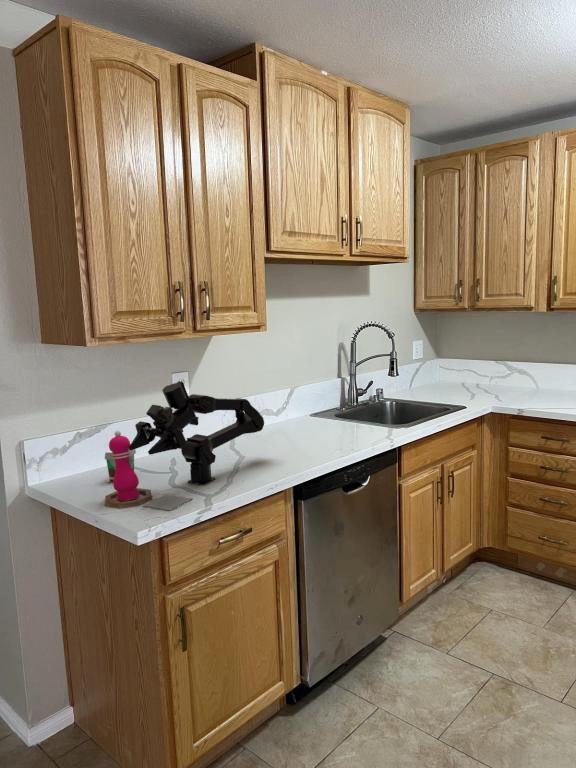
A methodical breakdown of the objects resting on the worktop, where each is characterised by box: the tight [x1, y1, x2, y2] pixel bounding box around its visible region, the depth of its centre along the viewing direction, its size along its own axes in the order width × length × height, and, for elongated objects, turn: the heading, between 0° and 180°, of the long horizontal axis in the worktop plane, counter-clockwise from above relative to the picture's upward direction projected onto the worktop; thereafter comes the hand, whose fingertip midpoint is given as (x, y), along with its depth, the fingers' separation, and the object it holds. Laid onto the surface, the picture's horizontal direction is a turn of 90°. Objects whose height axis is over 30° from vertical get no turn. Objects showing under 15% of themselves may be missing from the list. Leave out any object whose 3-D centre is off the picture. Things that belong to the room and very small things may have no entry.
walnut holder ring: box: [104, 487, 153, 509], centre depth 174 cm, size 13×13×1 cm
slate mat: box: [141, 493, 194, 512], centre depth 170 cm, size 10×10×1 cm
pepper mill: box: [108, 430, 140, 502], centre depth 174 cm, size 7×7×20 cm
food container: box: [104, 443, 137, 483], centre depth 195 cm, size 12×6×10 cm, turn 158°
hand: (139, 451), depth 169 cm, fingers open, 9 cm apart
